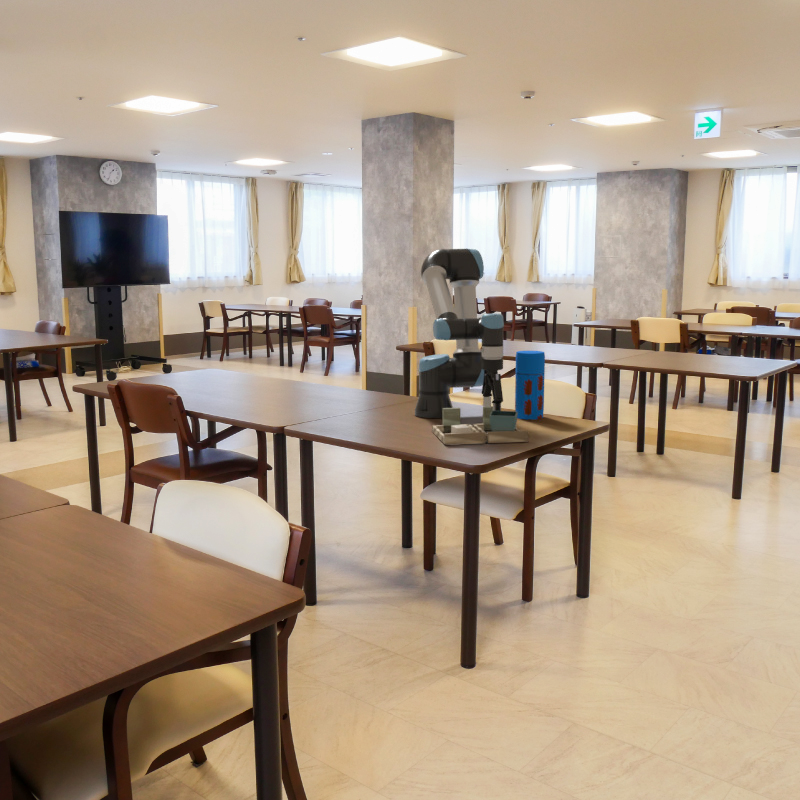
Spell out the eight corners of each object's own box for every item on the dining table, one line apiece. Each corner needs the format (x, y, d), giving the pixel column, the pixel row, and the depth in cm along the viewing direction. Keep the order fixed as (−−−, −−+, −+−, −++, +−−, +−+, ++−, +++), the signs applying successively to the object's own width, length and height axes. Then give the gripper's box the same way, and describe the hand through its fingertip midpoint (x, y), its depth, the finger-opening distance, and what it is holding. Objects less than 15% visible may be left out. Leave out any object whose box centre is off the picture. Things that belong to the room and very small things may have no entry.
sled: (432, 430, 292) (431, 408, 291) (469, 429, 294) (469, 407, 293) (444, 444, 270) (444, 420, 269) (485, 443, 272) (485, 419, 270)
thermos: (549, 417, 318) (550, 352, 314) (530, 420, 311) (531, 354, 307) (527, 413, 326) (529, 350, 322) (509, 416, 320) (510, 352, 315)
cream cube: (451, 440, 279) (451, 425, 278) (464, 439, 280) (465, 424, 280) (456, 443, 274) (456, 428, 273) (470, 442, 276) (470, 427, 275)
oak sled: (472, 429, 294) (472, 407, 293) (509, 428, 296) (509, 405, 295) (488, 443, 272) (488, 419, 271) (528, 441, 274) (528, 417, 272)
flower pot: (515, 442, 274) (516, 415, 272) (489, 441, 276) (489, 415, 274) (517, 437, 282) (517, 411, 281) (491, 436, 284) (491, 410, 283)
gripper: (473, 355, 302) (473, 412, 305) (490, 362, 277) (490, 424, 281) (493, 354, 303) (493, 412, 306) (512, 361, 279) (511, 424, 282)
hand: (491, 418), depth 293 cm, fingers open, 13 cm apart
